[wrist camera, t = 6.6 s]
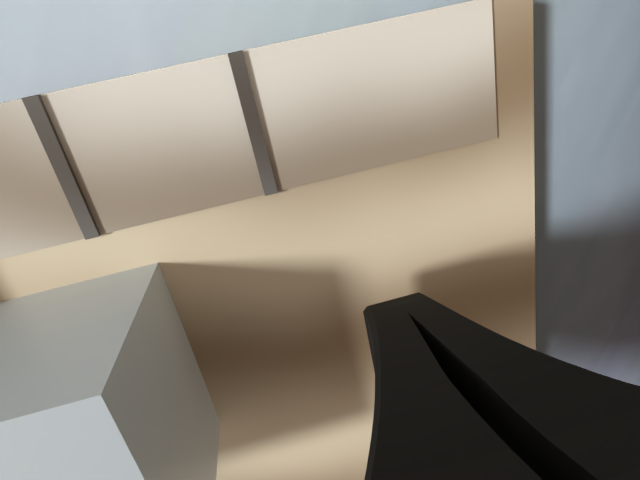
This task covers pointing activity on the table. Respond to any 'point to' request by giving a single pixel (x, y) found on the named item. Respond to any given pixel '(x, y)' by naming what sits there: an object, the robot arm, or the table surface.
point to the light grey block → (103, 385)
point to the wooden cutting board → (293, 210)
